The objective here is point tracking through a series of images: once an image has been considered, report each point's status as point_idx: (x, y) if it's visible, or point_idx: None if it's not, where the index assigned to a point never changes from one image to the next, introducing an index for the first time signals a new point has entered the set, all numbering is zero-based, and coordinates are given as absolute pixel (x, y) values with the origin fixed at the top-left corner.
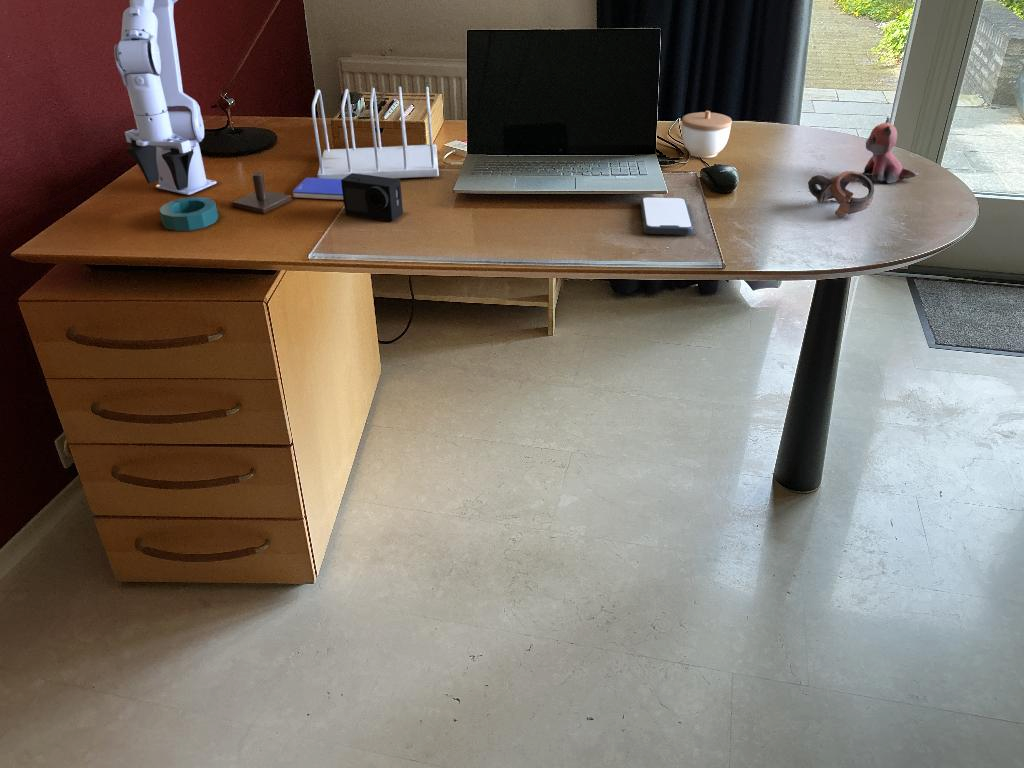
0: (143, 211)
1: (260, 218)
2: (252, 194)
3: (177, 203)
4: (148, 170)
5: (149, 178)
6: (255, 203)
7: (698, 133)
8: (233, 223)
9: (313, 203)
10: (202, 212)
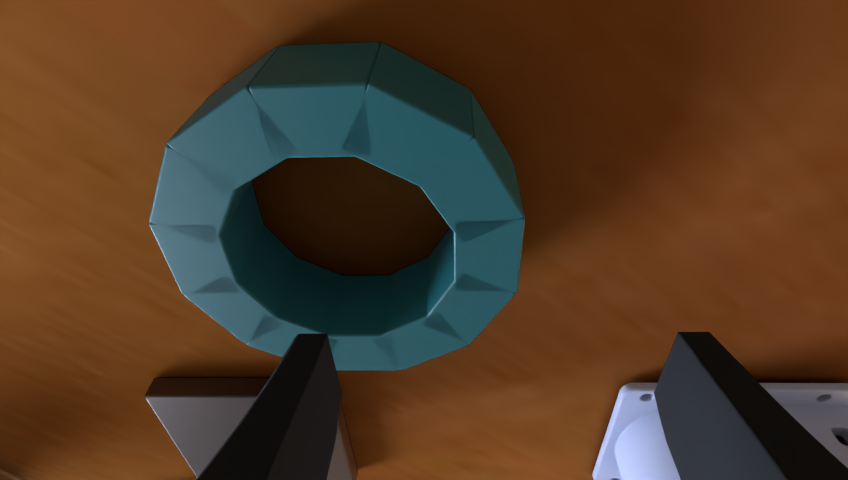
0: (749, 170)
1: (115, 346)
2: (332, 458)
3: (454, 267)
4: (732, 458)
5: (696, 374)
6: (230, 417)
7: None
8: (141, 270)
9: (128, 474)
10: (160, 237)
